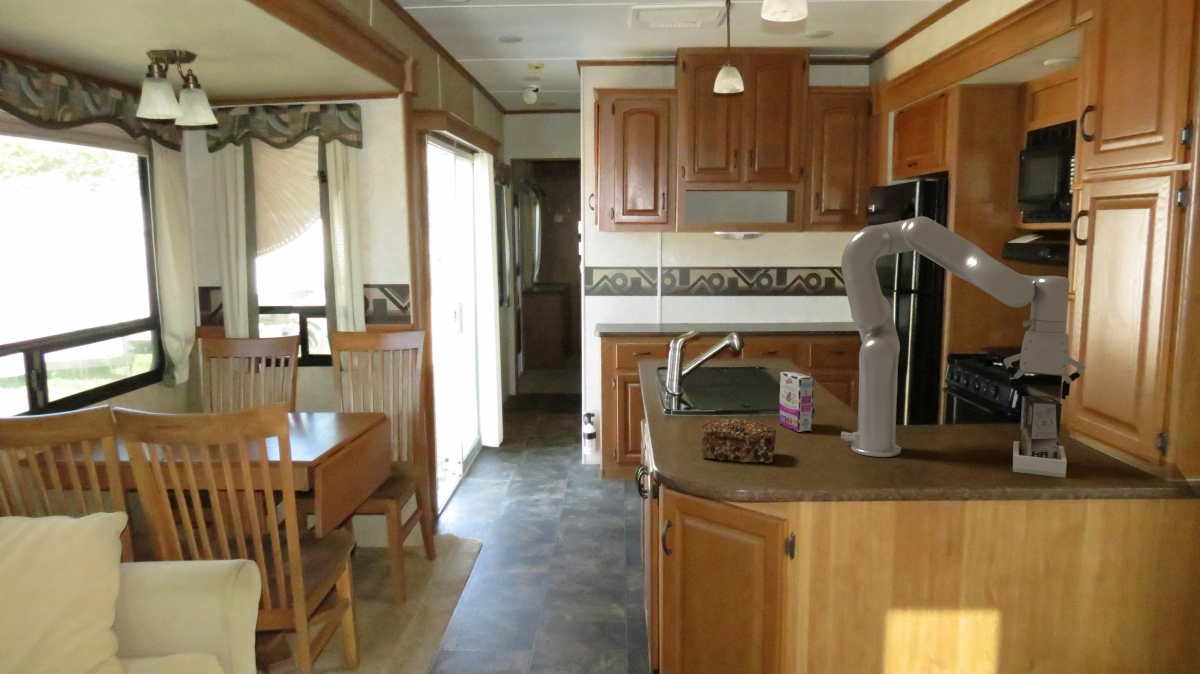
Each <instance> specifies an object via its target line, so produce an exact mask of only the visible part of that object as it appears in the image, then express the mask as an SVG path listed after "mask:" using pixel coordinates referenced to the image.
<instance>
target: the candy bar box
mask: <svg viewBox="0 0 1200 674" xmlns="http://www.w3.org/2000/svg"><path fill="white" fill-rule="evenodd" d="M814 379H815V378H814V377H813V376H810V375H806V374H803V373H800V372H796V371H793V370H791V371H782V372H780V373H779V410H778V411H779V415H778V416H779V418H778V424H779V423H781V424H783V425H785V426H787V427H789V428H791V429H793V430H792V431H794V430H795V431H794V432H796V431H797V432H796V433H798V432H802V433H806V432H805V431H811V432H812V431H813V408H814ZM787 427H786V428H787ZM789 428H788V429H789ZM791 429H790V430H791Z"/></svg>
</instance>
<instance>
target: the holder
mask: <svg viewBox="0 0 1200 674" xmlns="http://www.w3.org/2000/svg"><path fill="white" fill-rule="evenodd" d="M1019 447H1020V440H1019V441H1016V440H1014V441H1013V447H1012V448H1013V449H1012V472H1015V473H1023V474H1029V475H1038V476H1039V475H1040V476H1047V477H1054V478H1055V477H1056V478H1062V479H1064V478H1066V477H1067V465H1068V462H1067V461H1068V460H1067V456H1066V453H1065V447H1064V446H1063V445H1058V458H1057V459H1049V458H1040V457H1031V456H1022V455H1019Z"/></svg>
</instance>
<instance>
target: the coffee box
mask: <svg viewBox="0 0 1200 674" xmlns="http://www.w3.org/2000/svg"><path fill="white" fill-rule="evenodd" d="M1021 398H1022V399H1021V400H1022V401H1021V414H1020V415H1021V417H1020V431H1019V432H1020V433H1019V442H1020V447H1019V455H1022V456H1031V457H1040V458H1049V459H1057V458H1058V446H1060V445H1059V442H1060V431H1061V420H1062V406H1063V404H1062V403H1061V402H1060V401H1058V400H1056V399H1054V398H1052V397H1051V396H1049V395H1047V396H1046V395H1022V396H1021Z"/></svg>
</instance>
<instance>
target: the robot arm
mask: <svg viewBox="0 0 1200 674" xmlns="http://www.w3.org/2000/svg"><path fill="white" fill-rule="evenodd" d="M912 251H915V252H916V253H918V254H920V255H922V256H923V257H924V258H927V259H928V260H930V261H932V262H933V263H936V264H937V265H939V266H940V267H942V268H943V269H945V270H946V271H948V272H950V273H951V274H953V275H955V276H956V277H958V278H959V279H963V280H964V281H966V282H968V283H970V284H972V285H973V286H975V287H977V288H978V289H980V290H981V291H983V292H985V293H986V294H988V295H990V296H991V297H993V298H995V299H996V300H998V301H999V302H1001V303H1003V304H1005V305H1007V306H1009V307H1012V308H1021V307H1025V306H1027V305H1028V304H1031V309H1030V317H1029V319H1028V320H1023V322H1022V327H1026V328H1027V329H1028V330H1026V331H1025V333H1024V336H1023V339H1022V344H1021V345H1022V346H1021V351H1020V352H1019V353H1018V354H1015V355H1012V356H1009V357H1006V358H1004V359H1003V363H1004V365H1005V368H1006V369H1007V371H1008V372H1009V374H1010V375H1012V377H1013V378H1014V386H1013V391H1016V395H1017V396H1019V395H1021V389H1022V376H1023V375H1024V374H1025V373H1027V374H1036V375H1045V376H1047V375H1048V376H1061V378H1063V381H1062V385H1061V395H1060V396H1061V397H1060V398H1061V399H1062V400H1066V396H1068V397H1069V396H1070V389H1071V384H1072V383H1073V382H1074V381H1075V380H1077V379H1078V378H1080V376H1082V374H1083V373H1084V371H1085V370H1086V369H1087V368H1086V366H1085V364H1083V363H1082V362H1081V363H1080V362H1079V361H1077V360H1075V359H1074V358H1072V357H1070V337H1069V336H1070V335H1069V334H1068V333H1066V326H1067V325H1066V324H1067V315H1068V305H1069V295H1070V280H1069V279H1068V278H1067V277H1065V276H1061V275H1060V276H1058V275H1040V276H1035V275H1027V274H1023V273H1022V274H1021V273H1019V272H1018V271H1015V270H1014V269H1012V268H1010V267H1008V266H1007V265H1006V264H1003V263H1002V262H1000V261H999V260H997V259H995V258H994V257H992V256H991V255H989V254H988V253H986V251H984V250H983V249H981V248H980V247H979V246H978V245H976V244H974V243H973V242H971V241H970V240H968V239H966V238H964V237H962V236H961V235H960V234H957V233H956V232H954V231H952V230H951V229H949V228H947V227H945V226H943V225H942V224H940V223H938V222H937V221H935V220H934V219H931V218H929V217H928V216H917V217H916V216H915V217H913V218H907V219H905V220H899V221H893V222H887V223H882V224H881V223H880V224H876V225H867V226H866V227H864V228H862V229H861V230H859V231H858V232H857V233H856V234H855V235H853V236H852V238H850V240H849V241H848V242H847V244H846V245H845V247H844V249H843V251H842V257H841V262H840V263H841V274H842V279H843V282H844V286H845V292H846V295H847V299H848V304H849V308H850V309H849V310H850V315H851V319H852V321H853V323H854V324H855V325H856V326H857V328H858V331H859V335H860V340H861V346H860V349H859V353H858V355H859V356H858V359H859V360H858V369H859V370H858V372H859V373H858V374H859V375H858V376H859V377H858V379H859V380H858V413H857V415H858V416H857V431H853V432H848V431H841V433H840V439H842V440H843V441H846V442H849V441H850V442H852V443H851V445H850V449H851V451H853V452H855V453H856V454H859V455H863V456H867V457H873V458H874V457H877V458H888V457H890V458H891V457H895V456H898V455H899V454H901V453H902V447H901V446H900V445H898V444H896V427H897V426H896V425H897V424H896V423H897V402H898V401H897V399H898V397H897V395H898V376H899V373H898V371H899V370H898V368H899V356H900V350H901V344H900V340H899V336H898V331H897V328H896V323H895V320H894V316H893V315H894V314H893V311H892V307H891V304H890V303H889V300H888V299H887V298H886V296H885V295H883V292H882V289H881V285H880V279H879V275H878V272H877V267H876V264H877V260H878V259H879V258H880V257H885V256H889V255H894V254H895V255H897V254H902V253H907V252H912ZM1017 361H1019V368H1018V369H1017V370H1016V369H1015V368H1014V367H1013V365H1012V363H1013V362H1017ZM1069 365H1071V366H1073V367H1075V368H1076V370H1075V371H1074V372H1073V373H1071V374H1070V375H1069V374H1068V371H1069Z"/></svg>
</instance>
